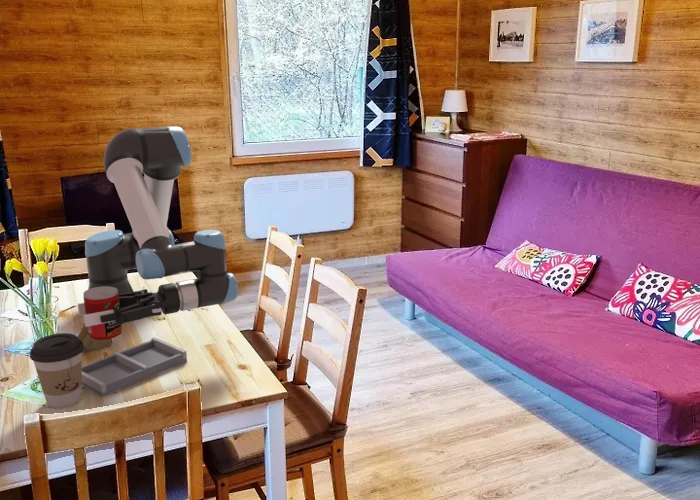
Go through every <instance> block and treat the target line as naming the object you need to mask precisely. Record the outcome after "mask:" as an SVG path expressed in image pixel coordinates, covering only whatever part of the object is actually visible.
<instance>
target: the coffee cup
mask: <svg viewBox="0 0 700 500" xmlns="http://www.w3.org/2000/svg"><path fill="white" fill-rule="evenodd" d="M77 336H78V335H76V334H74V333H69V332H64V333H63V332H59V333H54V334H53V333H52V334H50V335H49V334H48V335H45V336H42V337H41V338H39V339H37V340H36V341H35V342H34V343H33V347H32V348H31V349H30V351H29V359H30V360H31V361H33V364H34V367H35V370H36V374H37V376H38V380H39V383H40V386H41V390H42V392H43V396H44V400H45V402H46V404H47V406H48V407H49V408H51V409H55V410H56V409H59V410H60V409H61V410H62V409H66V408H70V407H72V406H73V407H74V406H75V405H76V404H79V402H80V401H81V397H82V387H83V385H82V366H83V364H82V363H83V353H82V351H83V350H84V346H83V342H82V341H81V340H79V339H78V337H77Z"/></svg>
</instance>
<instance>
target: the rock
mask: <svg viewBox="0 0 700 500" xmlns="http://www.w3.org/2000/svg"><path fill="white" fill-rule="evenodd" d="M76 336H77V337H78V339H79V340H81V341H82V342H83V346H84V350H83V351H82V354H86V353H89V352H94V351H98V350H103V349H105V348H108V347H111V346H112V344H113V338H112V339H108V340H95V339H92V338H91V337H90V336H89V334H88V327H86V326H85V321H84V322H83V326H82V328H81V329H80V332H79V333H78V335H76Z"/></svg>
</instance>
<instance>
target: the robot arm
mask: <svg viewBox="0 0 700 500" xmlns="http://www.w3.org/2000/svg"><path fill="white" fill-rule="evenodd" d="M191 164H192V150H191V145H190V142H189V139H188V136H187V134H186V131H185V130H184V129H183V128H182V127H180V126H169V125H166V126H161V127H160V126H156V127H140V128H128V129H127V128H126V129H124V130H121V131H120V132H118V133H116V134H115V135H114V136H113V137H112V138H111V139H110V140H109V141H108V143H107V145H106V148H105V150H104V153H103V169H104V172H105V175H106V177H107V179H108V181H110V182H111V183H113V184H114V186H115V189H116V191H117V195H118V197H119V199H120V201H121V204H122V207H123V209H124V211H125V214H126V216H127V219H128V221H129V225H130V226H131V230H132V232H129V233H123V231H122V230H120V229H113V230H105V231H100V232H97V233H95V234H92V235H91V236H89V237H87V239H85V241H84V249H85V250H84V255H85V259H86V267H87V275H88V282H89V283H88V288H87V290H89V289H91V288H95V287H103V286H109V287H115V288H117V289H118V294H119V303H120V309H118V308H114V310H107V311H102V312H97V313H91V314H86V312H85V305H84V302H79V303H77V309H78V315H79V316H81V315H83V318H84V322H85V326H86V327H88V326H93V325H98V324H103V323H108V322H113V321H115V320H116V322H120V323H121V324H122V325H123V324H128V323H130V322H135V321H138V320H142V319H146V318H149V317H151V318H152V317H154V316H155V317H156V316H160V315H162V313H163V315H170V314H171V315H172V314H175V313H178V312H179V311H181V312H184V311H188V312H191V311H192V310H194V309H199V308H203V307H210V306H215V305H216V306H217V305H222V304H226V303H230V302H232V301H235V300H236V299H237V297H238V296H239V284H238V280H237V278H236V276H235V275H234V273H232V272H228V270H227V254H226V253H227V247H226V242H225V236H224V233H223V232H222V231H220V230H217V229H203V230H200V231H197V232H195V234H194V235H193V241H186V242H181V243H176V244H175V238H174V235H173V233H172V231H171V230H170V229H169V227H168V226H167V225H168V219H169V212H170V208H171V207H170V206H171V200H172V195H173V188H174V182H175V180H176V179H177V178H178V177H179V176H180V175H181V173H182V168H183V167H184V168H186V167H189V166H190V165H191ZM143 175H144V176H143ZM130 270H137V273H138V275H139V276H140V278H142V279H143V280H156V279H163V278H165V277H166V278H167V277H171V276H175V275H181V274H186V273H187V274H188V273H191V272H196V273H197V278H193V279H186V280H181V281H176V282H175V283H173V282H168V283H164V284H161V285H159V286H158V289H157V291H156V292H152V291H148V289H141V290H136V291H134V289H133V287H132V285H131V282H130V281H129V279H128V271H130ZM114 311H115V313H114Z"/></svg>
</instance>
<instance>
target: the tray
mask: <svg viewBox="0 0 700 500" xmlns="http://www.w3.org/2000/svg"><path fill="white" fill-rule="evenodd" d="M187 357H188V355H187V350H185V349H183V348H181V347H178V346H176V345H173V344H171V343H168V342H167V341H163V340H162V339H160V338H157V337H152V338H150V340H148V341H145V342H143V343H141V344H138V345H135V346H132V347H128V348H125V349H123V350H121V351H116V350H115V351H113V352H112V354H111V355H108V356H105V357H102V358H100V359H97V360H94V361H92V362H90V363H87V364H84V365H82V387H85V388H87V389H88V390H90V391H92V392H93V393H96V394H97V395H99V396H100V397H102V398H103V397H106V396H108V395H111V394H113V393H115V392H118V391H120V390H123V389H125V388H128V387H129V386H132V385H134V384H137V383H139V382H142V381H144V380H147V379H150V378H151V377H153V376H156V375H159V374H160V373H163V372H165V371H168V370H170V369H173V368H175V367H177V366H180V365H182V364H185V363H186V362H188V359H187Z"/></svg>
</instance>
